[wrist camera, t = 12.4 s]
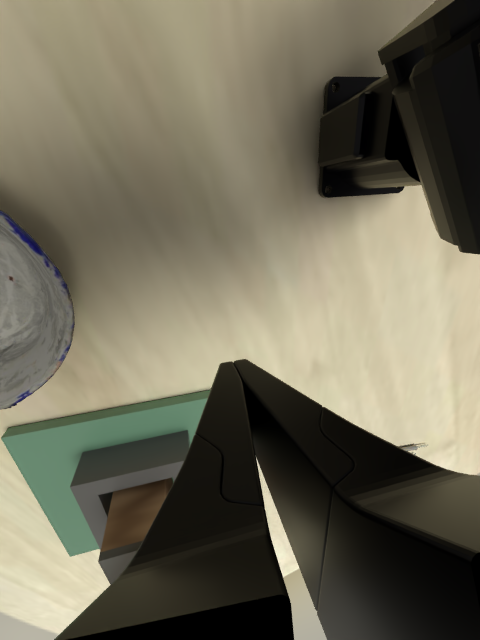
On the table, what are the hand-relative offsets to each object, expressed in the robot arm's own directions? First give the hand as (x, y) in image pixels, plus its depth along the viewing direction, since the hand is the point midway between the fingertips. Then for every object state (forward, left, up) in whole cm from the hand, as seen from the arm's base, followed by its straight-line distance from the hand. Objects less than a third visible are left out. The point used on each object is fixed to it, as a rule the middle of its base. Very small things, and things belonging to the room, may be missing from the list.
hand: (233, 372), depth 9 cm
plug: (+7, +18, -11) cm, 22 cm away
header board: (+7, +18, -12) cm, 23 cm away
